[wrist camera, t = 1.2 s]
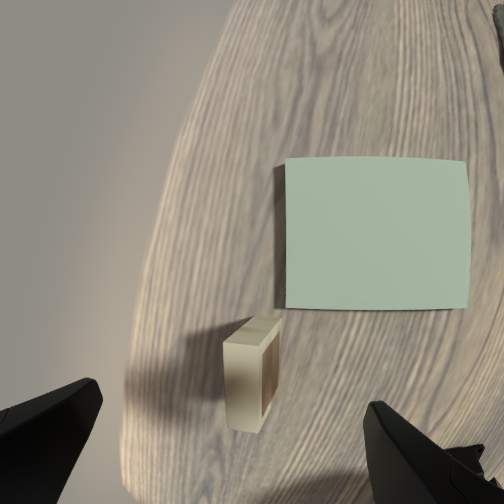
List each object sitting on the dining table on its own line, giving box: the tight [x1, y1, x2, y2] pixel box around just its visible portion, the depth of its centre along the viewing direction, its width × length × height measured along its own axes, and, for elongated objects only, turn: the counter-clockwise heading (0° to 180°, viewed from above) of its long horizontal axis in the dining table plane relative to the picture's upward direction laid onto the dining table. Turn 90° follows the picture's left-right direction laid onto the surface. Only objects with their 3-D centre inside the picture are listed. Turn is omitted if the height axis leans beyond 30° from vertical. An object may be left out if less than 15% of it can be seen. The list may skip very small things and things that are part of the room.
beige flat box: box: [223, 316, 281, 434], centre depth 18 cm, size 6×2×6 cm, turn 0°
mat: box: [285, 156, 471, 310], centre depth 18 cm, size 10×13×1 cm
